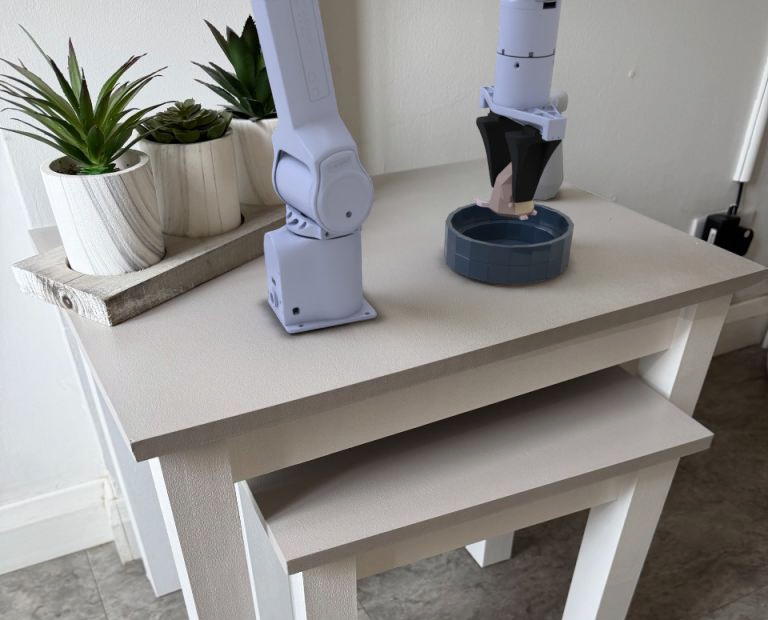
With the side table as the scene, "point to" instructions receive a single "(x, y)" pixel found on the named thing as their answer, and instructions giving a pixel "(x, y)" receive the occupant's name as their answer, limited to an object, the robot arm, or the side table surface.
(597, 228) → the side table surface
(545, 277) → the bowl
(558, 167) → the salt shaker
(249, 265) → the side table surface
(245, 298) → the side table surface
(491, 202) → the mouse figurine
